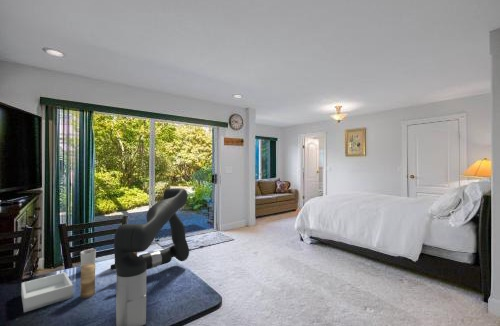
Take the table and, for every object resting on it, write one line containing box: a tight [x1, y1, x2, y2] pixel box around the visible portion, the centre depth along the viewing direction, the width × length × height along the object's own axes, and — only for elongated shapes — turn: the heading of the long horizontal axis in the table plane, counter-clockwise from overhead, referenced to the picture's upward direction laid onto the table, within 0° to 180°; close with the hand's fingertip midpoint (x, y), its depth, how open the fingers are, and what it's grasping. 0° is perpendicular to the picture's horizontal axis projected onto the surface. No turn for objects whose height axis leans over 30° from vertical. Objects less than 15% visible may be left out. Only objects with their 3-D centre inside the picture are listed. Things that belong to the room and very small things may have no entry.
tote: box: [20, 271, 74, 313], centre depth 100 cm, size 18×15×5 cm
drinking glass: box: [80, 248, 97, 267], centre depth 124 cm, size 7×7×10 cm
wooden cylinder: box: [80, 263, 96, 299], centre depth 101 cm, size 5×5×12 cm
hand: (113, 270), depth 108 cm, fingers open, 8 cm apart
